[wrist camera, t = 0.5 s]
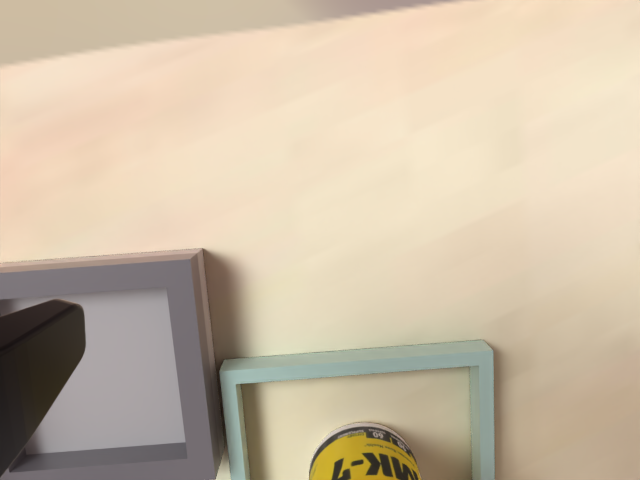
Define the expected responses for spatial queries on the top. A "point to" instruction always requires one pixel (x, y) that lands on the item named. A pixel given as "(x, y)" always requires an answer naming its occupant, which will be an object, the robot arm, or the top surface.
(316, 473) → the supplement bottle
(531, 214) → the top surface
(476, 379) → the green square frame
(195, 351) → the grey socket tray
